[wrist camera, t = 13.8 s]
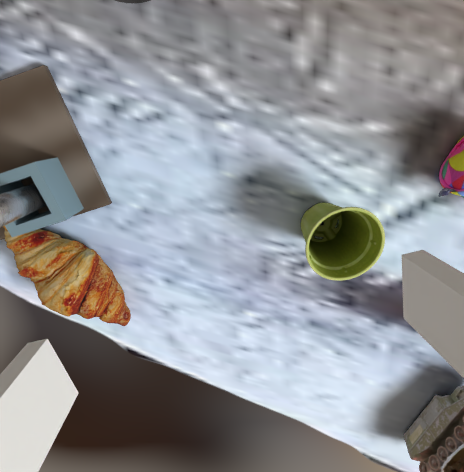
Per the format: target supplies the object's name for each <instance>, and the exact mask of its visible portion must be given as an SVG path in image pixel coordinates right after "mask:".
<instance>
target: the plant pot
mask: <svg viewBox="0 0 464 472" xmlns="http://www.w3.org/2000/svg"><path fill="white" fill-rule="evenodd" d="M337 219H338V220H339V224H338V227H337V228H335V226H336V224H337ZM321 222H324V224H323V225H321ZM301 230H302V233H303V236H304V239H305V242H306V257H307V260H308V263H309V265H310V266H311V268H312V269H313V270H314V271H315V272H316V273H317V274H318V275H320V276H322V277H324V278H326V279H330V280H348V279H351V278H355V277H357V276H359V275H361V274H363V273H365V272H366V271H368V270H369V269H370V268H371V267H372V266H373V265H374V264H375V263H376V262H377V260H378V259H379V257H380V255H381V254H382V251H383V248H384V244H385V234H384V229H383V226H382V224H381V222H380V221H379V220H378V218H377V217H376V216H375V215H374V214H372V213H371V212H369V211H367V210H365V209H362V208H357V207H345V208H342V207H339V206H336V205H333V204H330V203H318V204H315V205H314V206H312V207H311V208H310V209H308V210H307V211H306V212H305V213H304V215H303V217H302V220H301ZM315 236H316V237H323V238H322V239H315V238H314V237H315Z"/></svg>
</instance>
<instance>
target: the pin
mask: <svg viewBox="0 0 464 472" xmlns="http://www.w3.org/2000/svg"><path fill="white" fill-rule="evenodd" d="M45 206H47V204H46V203H45V201H44V199H43V197H42V195H41V194H40V192H39V190H38V188H37V187H36V185H35V183H33V184H30V185H27V186H24V187H20V188H17V189H14V190H11V191H8V192H5V193H1V194H0V228H1V227H3V226H5V225H7V224H9V223H11V222H13V221H15V220H18V219H20V218H22V217H24V216H26V215H28V214H30V213H32V212H34V211H36V210H38V209H41V208H43V207H45Z"/></svg>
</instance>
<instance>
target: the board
mask: <svg viewBox="0 0 464 472" xmlns="http://www.w3.org/2000/svg"><path fill="white" fill-rule="evenodd" d="M56 157H58V159H59V161H60V163H61V165H62V167H63V169H64V171H65V173H66V175H67V177H68V179H69V181H70V182H71V184H72V186H73V188H74V190H75V192H76V194H77V196H78V198H79V200H80V202H81V204H82V206H83V208H84V209H83V210H81V211H80V212H78V213H77V214H75V215H79V214H82V213H85V212H88V211H91V210H94V209H97V208H100V207H103V206H106V205H109V204H111V203H112V202H111V200H110V198H109V195H108V193H107V191H106V189H105V187H104V185H103V183H102V181H101V179H100V176H99V174H98V172H97V170H96V168H95V166H94V164H93V162H92V160H91V158H90V155H89V153H88V151H87V149H86V147H85V145H84V143H83V141H82V139H81V136H80V134H79V132H78V130H77V128H76V126H75V124H74V122H73V120H72V117H71V115H70V113H69V111H68V109H67V107H66V105H65V103H64V101H63V99H62V96H61V94H60V92H59V90H58V88H57V86H56V84H55V82H54V80H53V77H52V75H51V73H50V71H49V69H48V67H47V66H44V65H43V66H40V67H37V68H34V69H32V70H29V71H26V72H23V73H20V74H18V75H15V76H12V77H9V78H6V79H4V80H1V81H0V174H1V173H3V172H6V171H9V170H12V169H15V168H18V167H21V166H24V165H27V164H30V163H33V162H37V161H42V160H47V159H52V158H56ZM21 182H22V184H23V186H27V185H30V184H33V183H34V181H33V179H32V178H31V177H30V178H27V179H24V180H21ZM46 211H49V208H48V206H45V207H43V208H41V209H38V212H39V214H40V213H43V212H46ZM75 215H73V216H75ZM4 232H5V228H4V227H1V228H0V240H1V239H5V237H6V236H5V234H4Z"/></svg>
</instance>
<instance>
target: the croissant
mask: <svg viewBox="0 0 464 472" xmlns="http://www.w3.org/2000/svg"><path fill="white" fill-rule="evenodd" d="M3 227H4V228H5V232H4V234H5V236H6V237H5V241H6V242H7V244H6V245H7V248H9V249H11V250H12V251H13V252H14V254H15V256H14V258H15V260H16V264H17V268H18V269H19V270H20V271H19V272H18V273H19V274H20V276H23V277H28V278H31V281H33V282H34V284H35V288H36V290H37V291H38V292H37V293H38V297H39V299H40V300H41V302H42V305H45V306H46V307H48V308H49V309H51V310H53V311H56V312H58V313H60V314H62V315H65V316H70V315H74V314H78V315H81V316H82V317H83V318H86V319H90V318H93V317H100V318H99V319H101V320H102V321H104V322H107V323H117V324H120V325H122V326H126V325H127V324H128V322H129V320H130V317H131V314H130V310H129V308H128V307H127V306H126V303H125V301H124V300H125V298H124V292H123V290H122V288H121V286H120V285H119V283H118V282H117V280H116V278H115V276H114V275H113V272H112V270H111V269H110V268H109V267H108V266H107V265H106V264H105V263H104V262H103V260H102V259H101V257H100V256H99V255H98V254H97V252H96V251H94V250H93V249H89V248H87V247H86V246H85V245H84V244H82V243H80V242H78V241H74V240H73V241H71V240H69V239H63V238H61V236H60V235H58V234H55V233H52V232H50V231H45V230H41V229H37V230H34V231H31V232H28V233H25V234H22V235H19V236H15V237H11V235H10V233H9V232H8V230H7V229H6V227H5V226H3Z"/></svg>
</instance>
